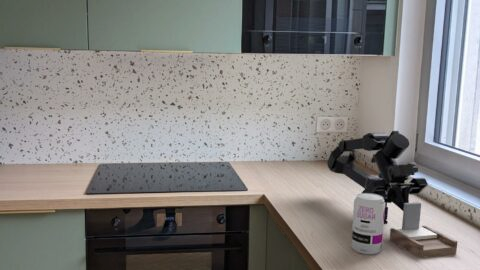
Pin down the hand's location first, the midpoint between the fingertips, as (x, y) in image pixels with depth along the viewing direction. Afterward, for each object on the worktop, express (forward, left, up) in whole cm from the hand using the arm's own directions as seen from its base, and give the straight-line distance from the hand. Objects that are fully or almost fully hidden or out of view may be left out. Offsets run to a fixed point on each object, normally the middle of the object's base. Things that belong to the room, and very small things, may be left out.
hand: (407, 212), depth 155 cm
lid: (+1, -5, -5) cm, 7 cm away
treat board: (+2, -8, -8) cm, 11 cm away
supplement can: (-15, -9, -8) cm, 20 cm away
